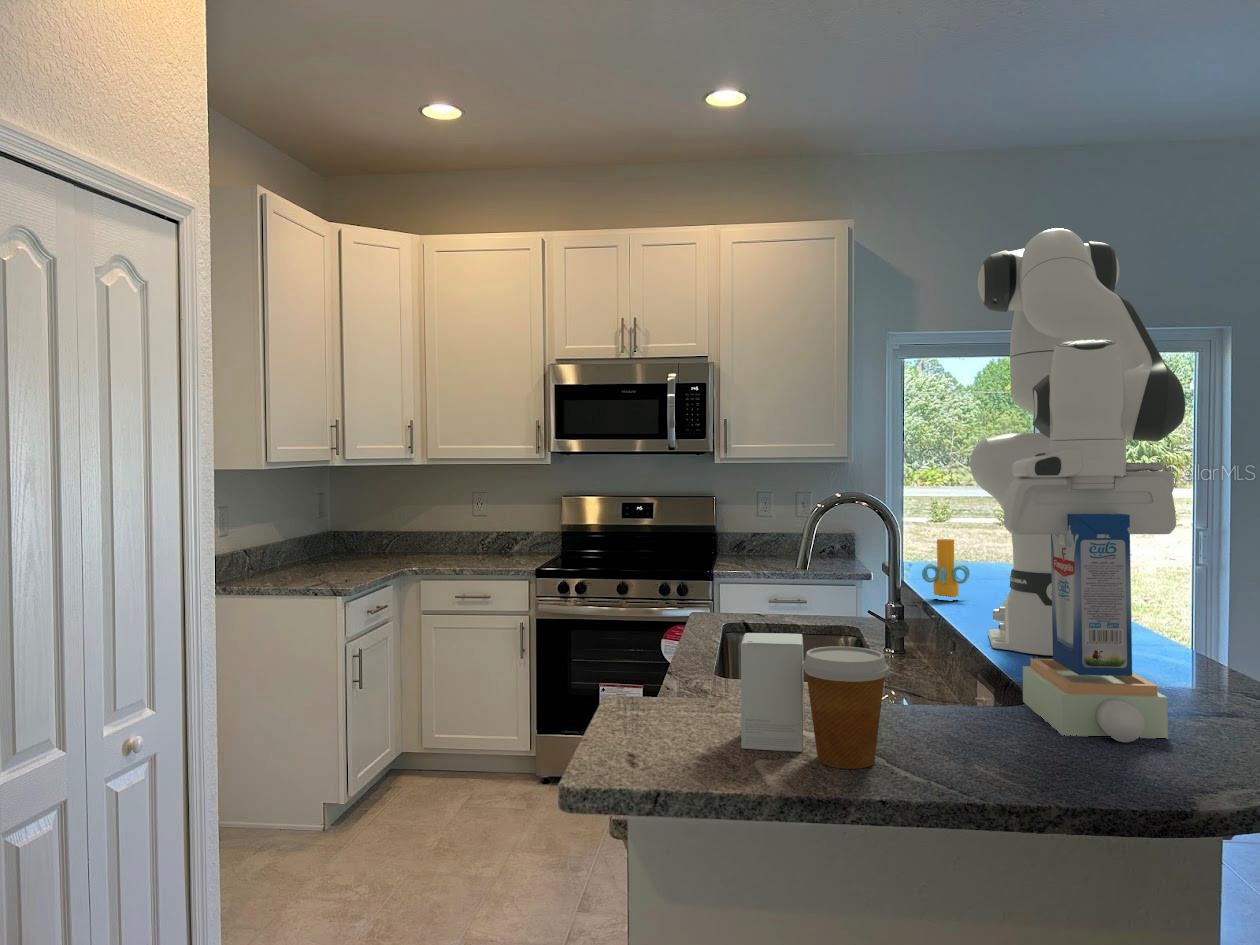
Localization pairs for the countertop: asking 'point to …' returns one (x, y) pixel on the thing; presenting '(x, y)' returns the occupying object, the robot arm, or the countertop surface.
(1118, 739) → the framed green panel box
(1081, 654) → the milk carton
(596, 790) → the countertop surface
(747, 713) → the supplement box
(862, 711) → the disposable coffee cup
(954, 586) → the orange column with rings
